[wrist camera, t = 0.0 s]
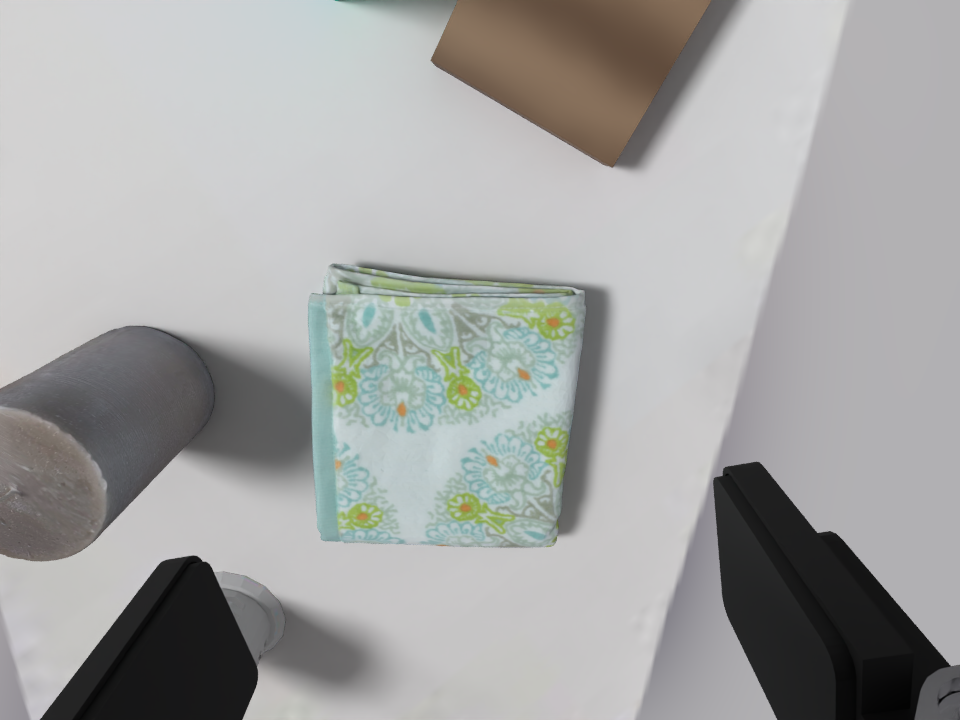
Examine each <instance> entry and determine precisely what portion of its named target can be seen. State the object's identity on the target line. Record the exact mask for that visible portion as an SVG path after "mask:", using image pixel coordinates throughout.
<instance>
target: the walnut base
mask: <svg viewBox="0 0 960 720" xmlns="http://www.w3.org/2000/svg"><path fill="white" fill-rule="evenodd" d="M710 2H711V0H458V1H457V4H456V6H455V8H454V10H453V12H452V15H451V17H450V19H449V21H448V23H447V26H446V28H445V30H444V32H443V34H442V37H441V39H440V41H439V43H438V45H437V48H436V50H435V52H434V54H433V56H432V59H431V61H432V62H433V64H434V65H435V66H437V67H438V68H440V69H442V70H443V71H445V72H447V73H448V74H450V75H452V76H454V77H455V78H457V79H459V80H460V81H462V82H464V83H465V84H467V85H469V86H471V87H472V88H474V89H476V90H477V91H479V92H481V93H482V94H484V95H486V96H488V97H489V98H491V99H493V100H494V101H496V102H498V103H499V104H501V105H503V106H505V107H506V108H508V109H510V110H511V111H513V112H515V113H516V114H518V115H520V116H522V117H523V118H525V119H527V120H528V121H530V122H532V123H533V124H535V125H537V126H539V127H540V128H542V129H544V130H545V131H547V132H549V133H550V134H552V135H554V136H556V137H557V138H559V139H561V140H562V141H564V142H566V143H567V144H569V145H571V146H573V147H574V148H576V149H578V150H579V151H581V152H583V153H584V154H586V155H588V156H590V157H591V158H593V159H595V160H596V161H598V162H600V163H601V164H603V165H606V166H609V167H612V168H613V166H614V164H615V163H616V161H617V159H618V157H619V156H620V154H621V152H622V151H623V149H624V147H625V146H626V144H627V142H628V141H629V139H630V137H631V136H632V134H633V132H634V130H635V129H636V127H637V125H638V124H639V122H640V120H641V119H642V117H643V115H644V114H645V112H646V110H647V108H648V107H649V105H650V103H651V102H652V100H653V98H654V97H655V95H656V93H657V92H658V90H659V88H660V86H661V85H662V83H663V81H664V80H665V78H666V76H667V75H668V73H669V71H670V70H671V68H672V66H673V65H674V63H675V61H676V59H677V58H678V56H679V54H680V53H681V51H682V49H683V48H684V46H685V44H686V43H687V41H688V39H689V37H690V36H691V34H692V32H693V31H694V29H695V27H696V26H697V24H698V22H699V21H700V19H701V17H702V15H703V14H704V12H705V10H706V9H707V7H708V5H709V4H710Z"/></svg>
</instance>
